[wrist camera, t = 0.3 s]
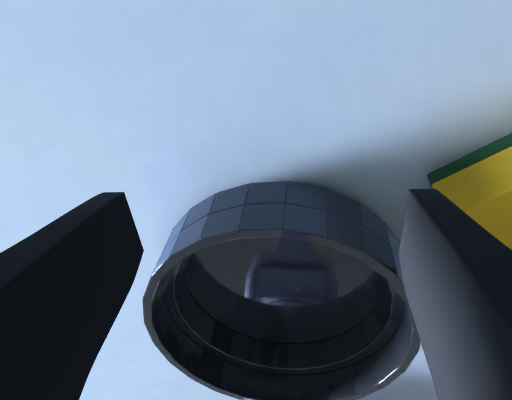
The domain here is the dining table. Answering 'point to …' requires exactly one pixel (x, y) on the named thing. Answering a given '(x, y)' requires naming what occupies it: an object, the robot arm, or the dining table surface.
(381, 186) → the dining table surface
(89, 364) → the robot arm
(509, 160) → the sponge
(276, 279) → the bowl
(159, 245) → the dining table surface
